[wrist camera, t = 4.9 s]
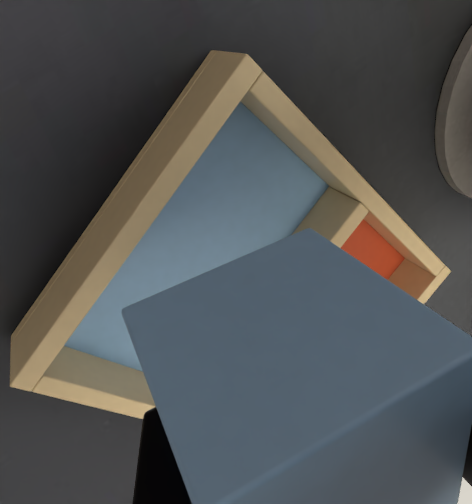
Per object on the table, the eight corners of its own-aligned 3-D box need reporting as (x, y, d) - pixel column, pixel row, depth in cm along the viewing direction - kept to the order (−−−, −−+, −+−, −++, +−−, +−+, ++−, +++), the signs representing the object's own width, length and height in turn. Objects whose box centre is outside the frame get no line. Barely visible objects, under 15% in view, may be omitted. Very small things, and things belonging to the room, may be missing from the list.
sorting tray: (271, 418, 27) (296, 457, 25) (10, 335, 17) (8, 387, 15) (409, 247, 26) (451, 271, 23) (211, 48, 16) (247, 52, 13)
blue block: (179, 439, 11) (261, 647, 7) (119, 307, 8) (197, 521, 5) (325, 360, 12) (459, 504, 8) (309, 225, 10) (489, 345, 6)
